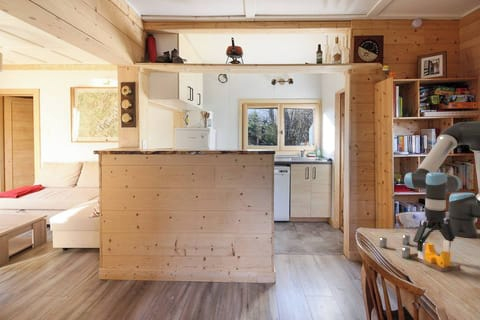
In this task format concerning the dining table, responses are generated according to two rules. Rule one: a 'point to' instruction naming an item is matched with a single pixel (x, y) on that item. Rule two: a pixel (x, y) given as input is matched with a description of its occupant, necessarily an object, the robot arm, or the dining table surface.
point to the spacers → (404, 249)
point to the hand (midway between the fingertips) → (433, 256)
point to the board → (434, 264)
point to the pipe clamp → (434, 258)
